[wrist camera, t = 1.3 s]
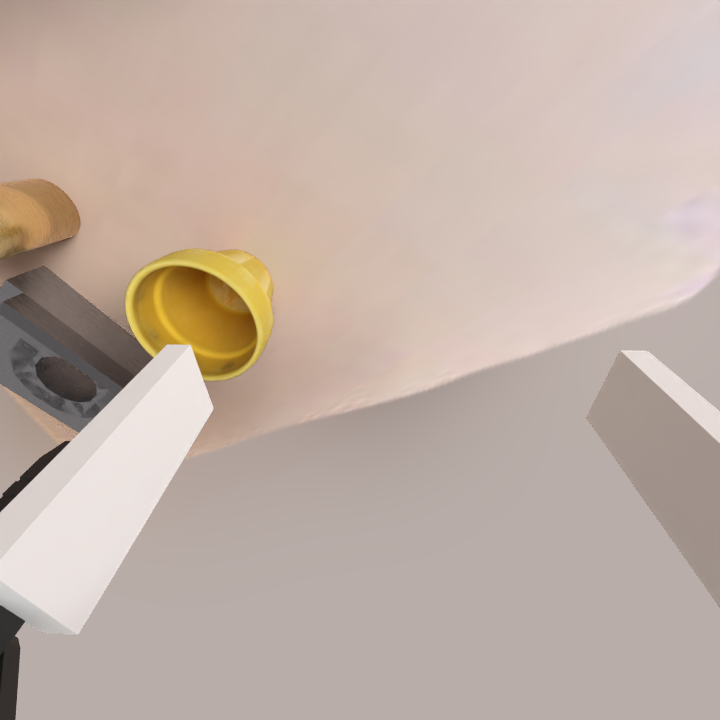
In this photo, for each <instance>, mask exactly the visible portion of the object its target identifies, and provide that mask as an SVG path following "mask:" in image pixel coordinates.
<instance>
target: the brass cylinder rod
mask: <svg viewBox="0 0 720 720" xmlns="http://www.w3.org/2000/svg"><path fill="white" fill-rule="evenodd" d="M79 228H80V217H79V213H78V211H77V209H76V207H75V205H74V203H73V202H72V200H71V199H70V198H69V197H68V195H67V194H66V193H65V192H64V191H62V190H61V189H60V188H59V187H57V186H56V185H54V184H52V183H50V182H48V181H46V180H42V179H29V180H20V181H12V182H3V183H0V260H1V259H4V258H8V257H11V256H14V255H17V254H20V253H23V252H26V251H29V250H33V249H36V248H39V247H42V246H45V245H48V244H51V243H54V242H58V241H61V240H64V239H67V238H70V237H73V236H74V235H76V234H77V232H78V231H79Z"/></svg>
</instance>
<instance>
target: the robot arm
mask: <svg viewBox="0 0 720 720" xmlns="http://www.w3.org/2000/svg"><path fill="white" fill-rule="evenodd" d="M213 409H214V408H213V405H212V402H211V400H210V397H209V394H208V391H207V389H206V386H205V383H204V380H203V378H202V375H201V372H200V369H199V367H198V364H197V361H196V358H195V356H194V353H193V350H192V348H191V345H170V344H167V345H166V346H165V347H164V348H163V349H162V350H161V351H160V352H159V353H158V354H157V355H156V356H155V357H154V358H153V359H152V360H151V361H150V362H149V363H148V364H147V365H146V366H145V367H144V368H143V369H142V370H141V371H140V372H139V373H138V374H137V375H136V376H135V377H134V378H133V379H132V380H131V381H130V382H129V383H128V384H127V385H126V386H125V387H124V388H123V389H122V390H121V391H120V392H119V393H118V395H117V396H116V397H115V398H114V399H113V400H112V401H111V402H110V403H109V404H108V405H107V406H106V407H105V408H104V409H103V410H102V411H101V412H100V413H99V414H98V415H97V416H96V417H95V418H94V419H93V420H92V421H91V422H90V423H89V424H88V425H87V426H86V427H85V428H84V429H83V430H82V431H81V432H80V433H79V434H78V435H77V436H76V437H75V438H74V439H73V440H72V441H65V442H63V443H62V444H60V445H59V446H57V447H56V448H54V449H53V450H51V451H50V452H48V453H47V454H45V455H43V456H42V457H41V458H39V459H38V460H37V461H36V462H35V463H34V464H33V465H32V466H31V467H30V468H29V469H28V470H27V471H26V472H25V473H24V474H23V475H22V476H21V477H20V480H19V481H16V482H15V483H13V484H12V485H11V486H10V487H9V488H8V489H7V490H6V491H5V492H4V493H3V497H2V498H0V720H15V715H16V701H17V688H18V672H19V659H20V645H19V641H18V638H17V637H15V635H16V633H17V632H18V631H19V629H20V628H21V626H22V625H23V624H24V622H26V623H27V624H29V625H31V626H32V627H34V628H35V629H37V630H39V631H40V632H42V633H54V634H69V635H78V634H79V632H80V631H81V629H82V627H83V626H84V624H85V622H86V621H87V619H88V617H89V616H90V614H91V612H92V611H93V609H94V607H95V606H96V604H97V602H98V601H99V599H100V597H101V596H102V594H103V592H104V591H105V589H106V587H107V586H108V584H109V582H110V580H111V579H112V577H113V576H114V574H115V572H116V571H117V569H118V567H119V566H120V564H121V562H122V561H123V559H124V557H125V556H126V554H127V552H128V551H129V549H130V547H131V546H132V544H133V542H134V541H135V539H136V537H137V536H138V534H139V532H140V531H141V529H142V527H143V526H144V524H145V522H146V521H147V519H148V517H149V516H150V514H151V512H152V511H153V509H154V507H155V506H156V504H157V502H158V501H159V499H160V497H161V496H162V494H163V492H164V491H165V489H166V487H167V486H168V484H169V482H170V481H171V479H172V478H173V476H174V474H175V472H176V471H177V469H178V468H179V466H180V464H181V463H182V461H183V459H184V458H185V456H186V454H187V453H188V451H189V449H190V448H191V446H192V444H193V443H194V441H195V439H196V438H197V436H198V434H199V433H200V431H201V429H202V428H203V426H204V424H205V423H206V421H207V419H208V418H209V416H210V414H211V413H212V411H213ZM586 418H587V420H588V421H589V422H590V424H591V425H592V427H593V428H594V430H595V431H596V432H597V434H598V435H599V437H600V438H601V439H602V441H603V442H604V444H605V445H606V447H607V448H608V450H609V451H610V452H611V454H612V455H613V457H614V458H615V459H616V461H617V462H618V464H619V465H620V467H621V468H622V469H623V471H624V472H625V474H626V475H627V476H628V478H629V479H630V481H631V482H632V484H633V485H634V486H635V488H636V489H637V491H638V492H639V493H640V495H641V496H642V498H643V499H644V501H645V502H646V504H647V505H648V506H649V508H650V509H651V510H652V512H653V513H654V515H655V516H656V518H657V519H658V520H659V522H660V523H661V525H662V526H663V528H664V529H665V530H666V532H667V533H668V535H669V536H670V538H671V539H672V540H673V542H674V543H675V545H676V546H677V548H678V549H679V550H680V552H681V553H682V555H683V556H684V557H685V559H686V560H687V561H688V563H689V565H690V566H691V567H692V569H693V570H694V572H695V573H696V574H697V576H698V577H699V579H700V580H701V582H702V583H703V584H704V586H705V587H706V589H707V590H708V591H709V593H710V594H711V596H712V597H713V599H714V600H715V601H716V603H717V604H718V606H719V607H720V411H718V410H717V409H716V408H715V407H714V406H712V405H711V404H710V403H709V402H708V401H707V400H705V399H704V398H703V397H702V396H701V395H699V394H698V393H697V392H696V391H695V390H693V389H692V388H691V387H690V386H689V385H687V384H686V383H685V382H684V381H683V380H682V379H680V378H679V377H678V376H677V375H676V374H674V373H673V372H672V371H671V370H670V369H668V368H667V367H666V366H665V365H664V364H662V363H661V362H660V361H659V360H658V359H657V358H655V357H654V356H653V355H652V354H651V353H649V352H648V351H624V350H623V351H622V350H621V351H620V352H619V354H618V356H617V358H616V360H615V362H614V364H613V366H612V368H611V370H610V372H609V374H608V376H607V378H606V380H605V382H604V384H603V386H602V387H601V389H600V391H599V393H598V395H597V397H596V399H595V401H594V403H593V405H592V407H591V409H590V411H589V413H588V415H587V417H586Z"/></svg>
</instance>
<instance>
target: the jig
mask: <svg viewBox="0 0 720 720" xmlns="http://www.w3.org/2000/svg"><path fill="white" fill-rule="evenodd" d="M152 359H153V357H152V356H151V355H150V354H149V353H148V352H147V351H146V350H145V349H144V348H143V347H142V345H141V344H140V343H139V342H138V341H137V340H136V339H135V338H133V337H132V336H131V335H130V334H128V333H127V332H126V331H125V330H123V329H122V328H121V327H120V326H118V325H117V324H116V323H115V322H113V321H112V320H111V319H110V318H108V317H107V316H106V315H105V314H103V313H102V312H101V311H100V310H98V309H97V308H96V307H95V306H93V305H92V304H91V303H90V302H88V301H87V300H86V299H85V298H83V297H82V296H81V295H80V294H78V293H77V292H76V291H75V290H73V289H72V288H71V287H70V286H68V285H67V284H66V283H65V282H63V281H62V280H61V279H60V278H58V277H57V276H56V275H55V274H53V273H52V272H51V271H50V270H48V269H47V268H46V267H45V266H42V267H39V268H37V269H34V270H31V271H29V272H26V273H24V274H21V275H18V276H16V277H13V278H10V279H8V280H6V281H5V283H4V284H3V286H2V287H1V288H0V384H2V385H3V386H5V387H6V388H8V389H10V390H11V391H13V392H14V393H16V394H18V395H19V396H21V397H23V398H24V399H26V400H27V401H29V402H31V403H32V404H34V405H35V406H37V407H39V408H40V409H42V410H43V411H45V412H47V413H48V414H50V415H52V416H53V417H55V418H56V419H58V420H60V421H61V422H63V423H64V424H66V425H68V426H69V427H71V428H72V429H74V430H76V431H77V432H79V433H80V432H81V431H82V430H83V429H84V428H85V427H86V426H87V425H88V424H89V423H90V422H91V421H92V420H93V419H94V418H95V417H96V416H97V415H98V414H99V413H100V412H101V411H102V410H103V409H104V408H105V407H106V406H107V405H108V404H109V403H110V402H111V401H112V400H113V399H114V398H115V397H116V396H117V395H118V393H119V392H120V391H121V390H122V389H123V388H124V387H125V386H126V385H127V384H128V383H129V382H130V381H131V380H132V379H133V378H134V377H135V376H136V375H137V374H138V373H139V372H140V371H141V370H142V369H143V368H144V367H145V366H146V365H147V364H148V363H149V362H150V361H151V360H152ZM73 366H74V367H76V368H77V369H79V370H80V371H81V372H83V373H84V374H86V375H87V376H89V377H90V378H89V377H87V376H85V375H84V374H82V373H81V372H80V371H78V370H77V369H75V368H74V367H73Z"/></svg>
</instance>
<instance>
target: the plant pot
mask: <svg viewBox="0 0 720 720" xmlns="http://www.w3.org/2000/svg"><path fill="white" fill-rule="evenodd" d="M272 295H273V283H272V280H271V277H270V274H269V272H268V271H267V269H266V268H265V266H264V265H263V264H262V263H261V262H260V261H259V260H258V259H257V258H255V257H254V256H252V255H250V254H248V253H246V252H243V251H239V250H225V251H219V252H214V251H210V250H204V249H185V250H180V251H177V252H174V253H171V254H169V255H166V256H164V257H162V258H160V259H158V260H156V261H154V262H152V263H150V264H148V265H147V266H145V267H143V268H142V269H141V270H140V271H138V272H137V273H136V274H135V276H134V277H133V278H132V280H131V281H130V283H129V285H128V288H127V290H126V295H125V311H126V316H127V320H128V323H129V325H130V328H131V330H132V332H133V334H134V335H135V337H136V339H137V340H138V342H139V343H140V344H141V345H142V347H143V348H144V349H145V350H146V351H147V352H148V353H149V354H150V355H151V356H152V357H153V358H154V357H155V356H156V355H157V354H158V353H159V352H160V351H161V350H162V349H163V348H164V347H165V346H166V345H167V344H170V345H191V348H192V350H193V353H194V356H195V358H196V361H197V364H198V367H199V369H200V372H201V375H202V378H203V380H204V381H222V380H227V379H231V378H234V377H236V376H238V375H241V374H242V373H244V372H245V371H247V370H248V369H249V368H250V367H251V366H252V365H253V364H254V363H255V362H256V361H257V359H258V358H259V356H260V355H261V353H262V351H263V349H264V348H265V346H266V344H267V342H268V339H269V337H270V334H271V331H272V326H273V314H272V308H271V300H272Z"/></svg>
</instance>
